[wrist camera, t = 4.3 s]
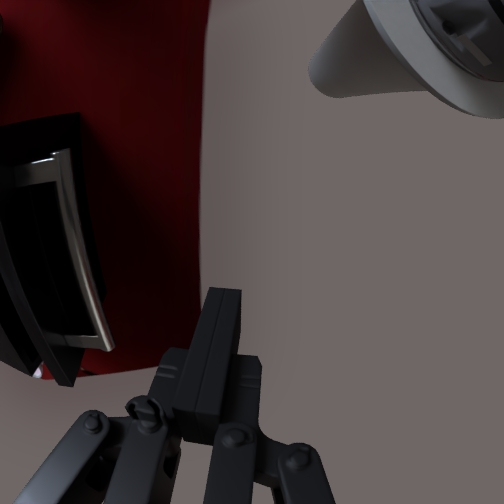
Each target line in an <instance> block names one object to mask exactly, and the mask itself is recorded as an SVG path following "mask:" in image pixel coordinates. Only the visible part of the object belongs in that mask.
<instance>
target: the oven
mask: <svg viewBox="0 0 504 504" xmlns="http://www.w3.org/2000/svg"><path fill="white" fill-rule="evenodd" d="M0 361H2V362H4V363H6V364H8V365H10V366H12V367H13V368H16V369H17V370H19V371H21V372H23V373H25V374H27V375H29V376H31V377H32V376H33V375H34V373H35V372H36V370H37V369H38V367H39V366H40V364H41V363H42V361H43V360H42V358H41V357H40V355H39V353H38V351H37V350H36V348H35V346H34V344H33V343H32V341H31V339H30V337H29V335H28V333H27V331H26V329H25V327H24V325H23V323H22V321H21V319H20V317H19V315H18V313H17V311H16V309H15V307H14V304H13V302H12V300H11V298H10V295H9V293H8V291H7V288H6V286H5V283H4V281H3V278H2V276H1V273H0Z"/></svg>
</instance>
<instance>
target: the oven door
mask: <svg viewBox="0 0 504 504" xmlns="http://www.w3.org/2000/svg"><path fill="white" fill-rule="evenodd" d="M0 273H1V276H2V278H3V281H4V283H5V286H6V288H7V291H8V293H9V295H10V298H11V300H12V302H13V304H14V307H15V309H16V311H17V313H18V315H19V317H20V319H21V321H22V323H23V325H24V327H25V329H26V331H27V333H28V335H29V337H30V339H31V341H32V343H33V344H34V346H35V348H36V350H37V351H38V353H39V355H40V357H41V358H42V360H43V362H44V363H45V365H46V366H47V368H48V370H49V371H50V373H51V374H52V376H53V377H54V379H55V381H56V382H57V383H58V385H60V386H67V387H73V386H74V383H75V380H76V376H77V373H78V370H79V367H80V364H81V361H82V358H83V355H84V352H85V349H86V348H98V349H102V350H103V351H111V350H113V349H114V348H115V345H116V343H115V340H114V337H113V334H112V332H111V329H110V326H109V323H108V320H107V317H106V314H105V311H104V308H103V305H102V304H103V301H104V299H105V296H106V294H107V290H106V286H105V282H104V278H103V275H102V271H101V266H100V262H99V258H98V254H97V249H96V244H95V240H94V235H93V230H92V224H91V219H90V213H89V207H88V201H87V194H86V187H85V179H84V170H83V160H82V149H81V135H80V113H79V112H75V113H68V114H61V115H54V116H48V117H42V118H37V119H31V120H26V121H21V122H17V123H12V124H8V125H4V126H0Z"/></svg>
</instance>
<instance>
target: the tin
mask: <svg viewBox="0 0 504 504" xmlns="http://www.w3.org/2000/svg"><path fill="white" fill-rule="evenodd" d="M2 29H3V18H2V16H1V14H0V35H1V33H2Z"/></svg>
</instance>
